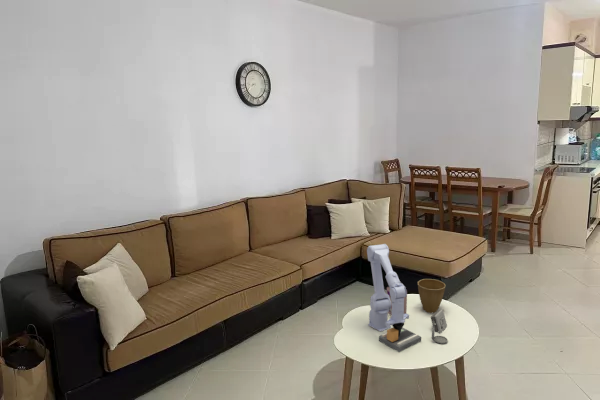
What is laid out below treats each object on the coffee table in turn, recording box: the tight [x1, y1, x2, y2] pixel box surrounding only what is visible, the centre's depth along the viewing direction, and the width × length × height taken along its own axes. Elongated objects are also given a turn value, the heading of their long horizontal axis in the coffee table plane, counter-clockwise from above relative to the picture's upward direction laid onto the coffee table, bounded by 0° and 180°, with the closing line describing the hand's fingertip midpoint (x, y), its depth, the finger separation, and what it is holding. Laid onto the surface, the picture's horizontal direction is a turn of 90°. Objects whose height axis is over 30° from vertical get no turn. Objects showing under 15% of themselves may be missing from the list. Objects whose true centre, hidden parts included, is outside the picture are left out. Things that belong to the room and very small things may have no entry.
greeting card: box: [386, 286, 408, 316], centre depth 238 cm, size 11×7×15 cm, turn 25°
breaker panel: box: [378, 326, 422, 353], centre depth 212 cm, size 13×16×3 cm
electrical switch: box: [430, 309, 448, 334], centre depth 223 cm, size 9×5×9 cm, turn 141°
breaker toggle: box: [386, 327, 398, 342], centre depth 208 cm, size 4×4×5 cm
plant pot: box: [417, 278, 446, 314], centre depth 242 cm, size 15×15×16 cm
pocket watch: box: [431, 321, 449, 345], centre depth 211 cm, size 8×8×10 cm
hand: (397, 335), depth 210 cm, fingers closed
